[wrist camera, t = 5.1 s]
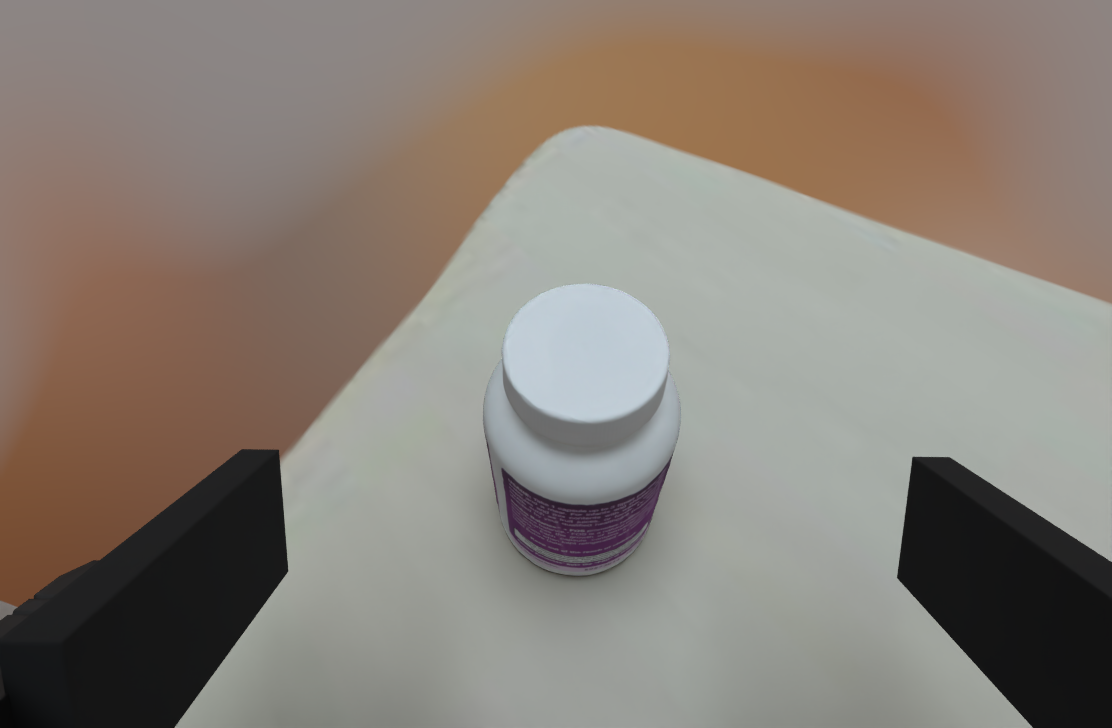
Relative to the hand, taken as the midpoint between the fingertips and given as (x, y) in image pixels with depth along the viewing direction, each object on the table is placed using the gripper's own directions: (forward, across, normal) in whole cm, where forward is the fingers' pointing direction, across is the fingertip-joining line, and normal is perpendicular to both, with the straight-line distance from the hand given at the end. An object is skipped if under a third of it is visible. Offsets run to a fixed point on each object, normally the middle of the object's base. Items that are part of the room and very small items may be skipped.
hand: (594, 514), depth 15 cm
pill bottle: (+10, 0, -4) cm, 10 cm away
